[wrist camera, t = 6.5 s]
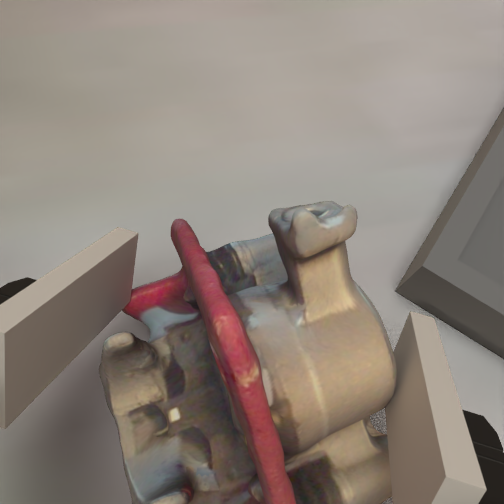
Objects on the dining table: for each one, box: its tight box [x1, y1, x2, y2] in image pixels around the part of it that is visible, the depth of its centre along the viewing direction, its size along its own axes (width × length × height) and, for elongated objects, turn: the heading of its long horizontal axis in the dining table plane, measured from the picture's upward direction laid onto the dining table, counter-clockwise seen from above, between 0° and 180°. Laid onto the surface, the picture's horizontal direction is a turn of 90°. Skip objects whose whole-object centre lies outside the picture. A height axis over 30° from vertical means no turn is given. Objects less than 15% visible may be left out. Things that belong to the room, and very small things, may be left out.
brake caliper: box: [99, 201, 397, 504], centre depth 15 cm, size 11×11×12 cm
